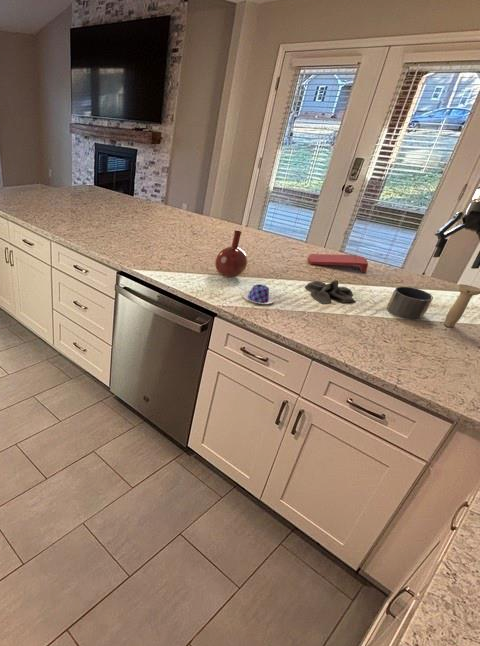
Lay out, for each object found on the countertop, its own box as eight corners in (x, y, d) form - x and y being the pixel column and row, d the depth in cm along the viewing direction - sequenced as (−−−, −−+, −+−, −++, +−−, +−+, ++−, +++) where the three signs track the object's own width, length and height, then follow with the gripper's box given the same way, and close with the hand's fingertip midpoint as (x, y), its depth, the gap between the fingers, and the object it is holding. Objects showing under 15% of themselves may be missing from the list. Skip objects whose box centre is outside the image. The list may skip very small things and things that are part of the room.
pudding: (245, 290, 171) (248, 278, 168) (275, 296, 167) (279, 284, 164) (240, 301, 162) (243, 289, 159) (271, 308, 158) (275, 295, 155)
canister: (427, 314, 159) (437, 295, 154) (416, 322, 152) (426, 303, 148) (393, 302, 166) (402, 284, 162) (381, 310, 160) (389, 291, 155)
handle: (438, 320, 155) (459, 283, 146) (459, 326, 151) (482, 288, 143) (437, 324, 151) (458, 287, 143) (458, 330, 148) (481, 292, 140)
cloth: (303, 281, 182) (308, 267, 178) (350, 288, 177) (355, 275, 173) (306, 301, 164) (311, 287, 161) (358, 310, 159) (364, 295, 156)
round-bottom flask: (232, 269, 190) (242, 226, 179) (249, 281, 179) (261, 235, 168) (207, 272, 186) (215, 228, 175) (223, 284, 175) (233, 237, 165)
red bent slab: (306, 271, 202) (366, 273, 191) (308, 261, 199) (368, 263, 189) (307, 263, 211) (364, 265, 201) (308, 253, 209) (366, 255, 198)
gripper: (512, 215, 148) (483, 273, 152) (440, 196, 150) (414, 253, 155) (530, 212, 140) (499, 272, 145) (455, 191, 143) (426, 251, 147)
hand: (455, 262), depth 150 cm, fingers open, 13 cm apart
